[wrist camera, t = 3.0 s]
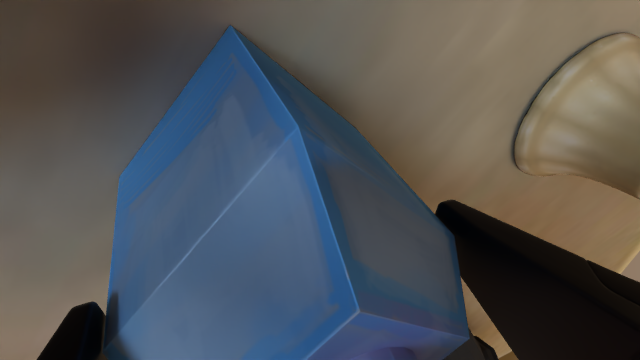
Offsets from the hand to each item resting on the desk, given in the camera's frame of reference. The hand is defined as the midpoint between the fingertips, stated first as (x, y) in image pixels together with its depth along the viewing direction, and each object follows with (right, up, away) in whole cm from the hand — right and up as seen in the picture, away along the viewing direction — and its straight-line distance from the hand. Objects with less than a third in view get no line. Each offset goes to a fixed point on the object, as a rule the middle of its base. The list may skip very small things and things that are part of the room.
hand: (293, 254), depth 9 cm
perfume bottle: (-2, +3, +4) cm, 6 cm away
